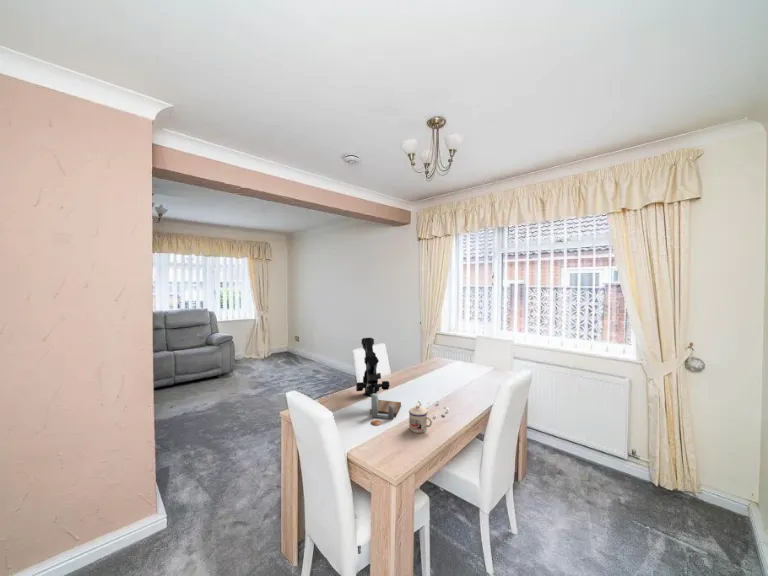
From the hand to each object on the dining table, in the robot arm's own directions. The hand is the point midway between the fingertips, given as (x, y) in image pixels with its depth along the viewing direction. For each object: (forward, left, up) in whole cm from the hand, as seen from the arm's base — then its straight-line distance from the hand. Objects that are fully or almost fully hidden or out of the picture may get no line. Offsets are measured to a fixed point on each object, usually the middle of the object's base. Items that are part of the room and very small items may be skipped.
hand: (373, 400), depth 162 cm
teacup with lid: (+6, +29, -7) cm, 31 cm away
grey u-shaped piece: (+3, +7, -6) cm, 10 cm away
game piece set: (-17, +27, -7) cm, 33 cm away
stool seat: (0, +6, -7) cm, 9 cm away
